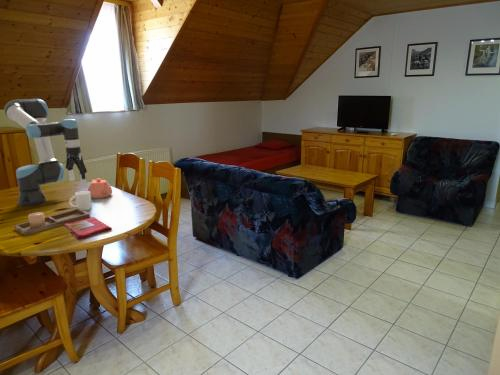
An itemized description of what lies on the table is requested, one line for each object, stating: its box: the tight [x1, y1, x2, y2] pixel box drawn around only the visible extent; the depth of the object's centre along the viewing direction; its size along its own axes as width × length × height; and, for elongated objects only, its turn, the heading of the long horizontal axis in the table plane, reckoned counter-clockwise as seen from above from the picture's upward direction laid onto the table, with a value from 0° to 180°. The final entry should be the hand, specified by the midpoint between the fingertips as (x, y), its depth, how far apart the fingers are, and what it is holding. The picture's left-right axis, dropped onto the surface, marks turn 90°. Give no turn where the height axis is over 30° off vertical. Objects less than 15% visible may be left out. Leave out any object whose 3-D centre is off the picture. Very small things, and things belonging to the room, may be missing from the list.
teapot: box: [87, 177, 113, 200], centre depth 240 cm, size 22×15×12 cm
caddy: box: [14, 208, 91, 236], centre depth 193 cm, size 13×33×3 cm, turn 141°
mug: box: [68, 190, 93, 212], centre depth 215 cm, size 12×8×10 cm
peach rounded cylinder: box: [27, 211, 46, 229], centre depth 187 cm, size 7×7×7 cm
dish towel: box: [63, 216, 113, 240], centre depth 188 cm, size 17×24×3 cm
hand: (77, 182), depth 212 cm, fingers open, 13 cm apart
